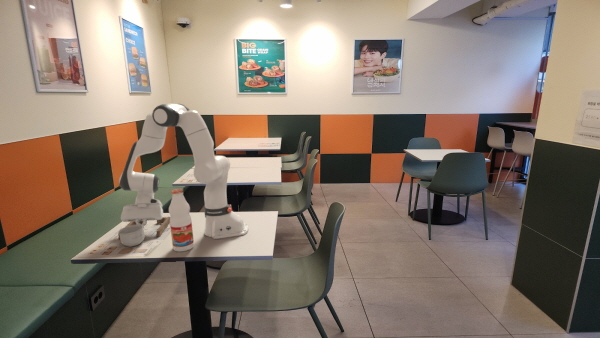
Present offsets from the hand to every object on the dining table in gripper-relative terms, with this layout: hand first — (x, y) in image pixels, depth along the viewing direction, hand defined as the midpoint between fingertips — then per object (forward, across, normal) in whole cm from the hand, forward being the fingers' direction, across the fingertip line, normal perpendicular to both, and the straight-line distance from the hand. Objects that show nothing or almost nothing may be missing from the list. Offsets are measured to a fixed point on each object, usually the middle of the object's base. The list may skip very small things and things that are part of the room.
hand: (140, 228), depth 168 cm
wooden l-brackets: (-3, 0, +9) cm, 9 cm away
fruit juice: (+15, +25, -9) cm, 31 cm away
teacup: (+8, 0, -2) cm, 9 cm away
